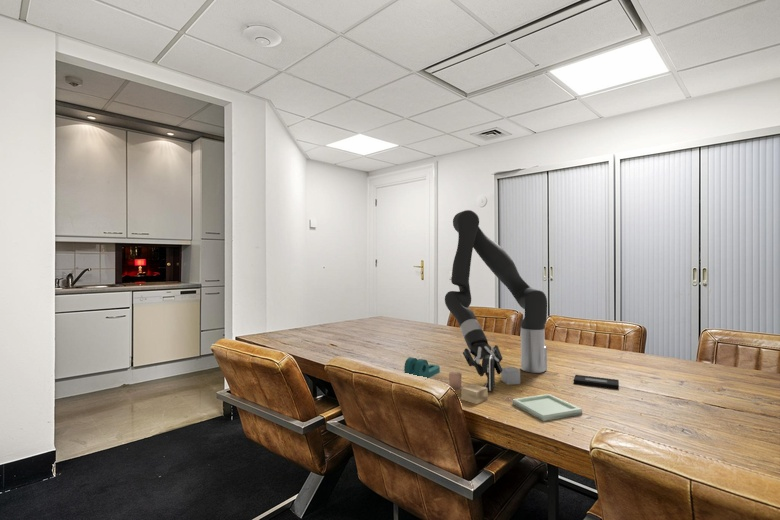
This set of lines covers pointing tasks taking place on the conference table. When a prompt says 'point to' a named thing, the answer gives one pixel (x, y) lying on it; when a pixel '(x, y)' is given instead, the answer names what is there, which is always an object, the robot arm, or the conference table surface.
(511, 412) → the conference table surface
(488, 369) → the battery charger
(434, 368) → the bracket
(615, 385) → the vhs tape
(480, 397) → the oak block
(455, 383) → the pink glossy rounded part
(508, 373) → the grey box
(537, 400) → the tray
